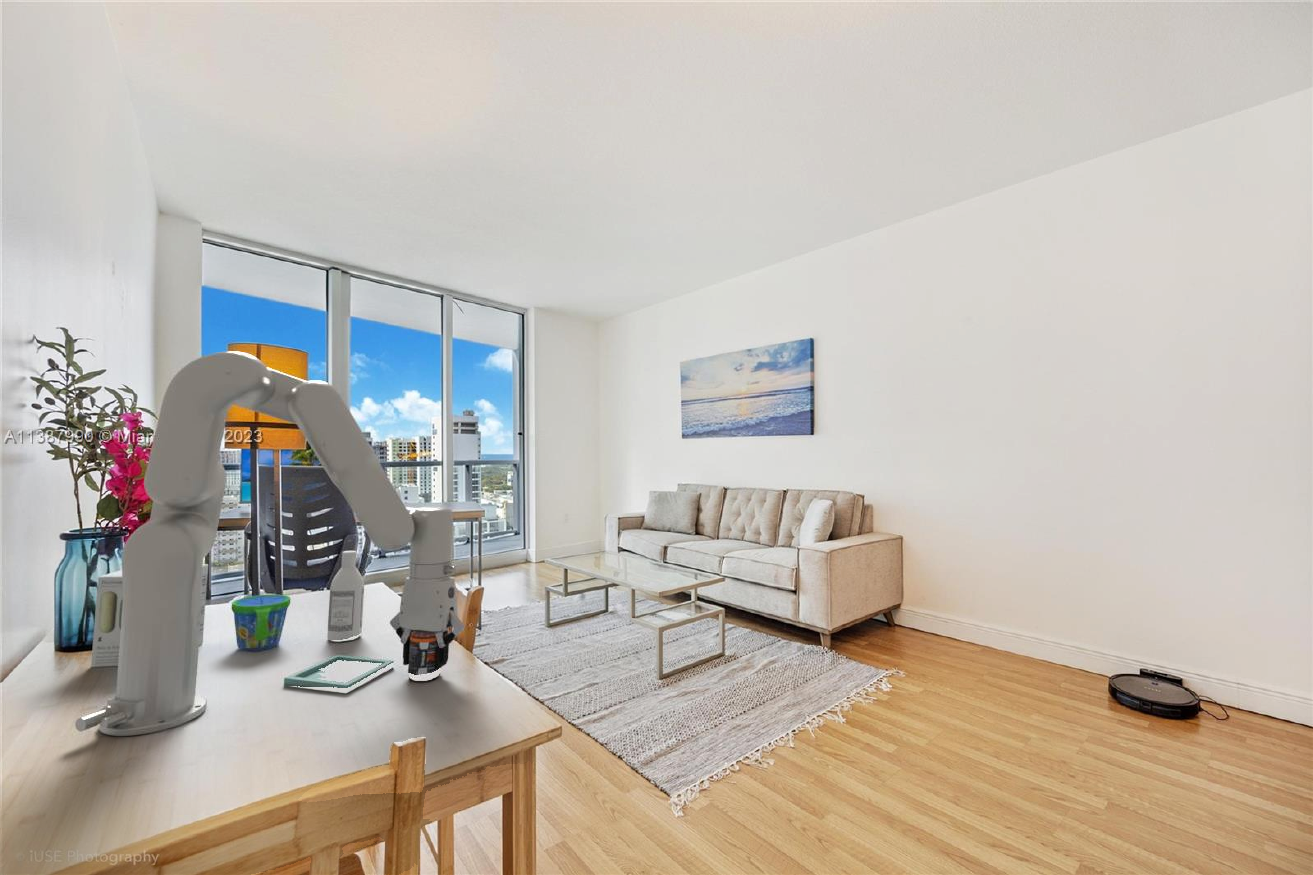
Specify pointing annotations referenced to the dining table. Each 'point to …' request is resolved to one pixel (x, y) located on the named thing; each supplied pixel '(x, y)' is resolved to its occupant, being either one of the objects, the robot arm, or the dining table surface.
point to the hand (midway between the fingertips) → (425, 663)
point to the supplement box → (119, 618)
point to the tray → (310, 676)
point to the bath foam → (346, 600)
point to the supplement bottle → (422, 652)
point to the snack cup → (259, 621)
